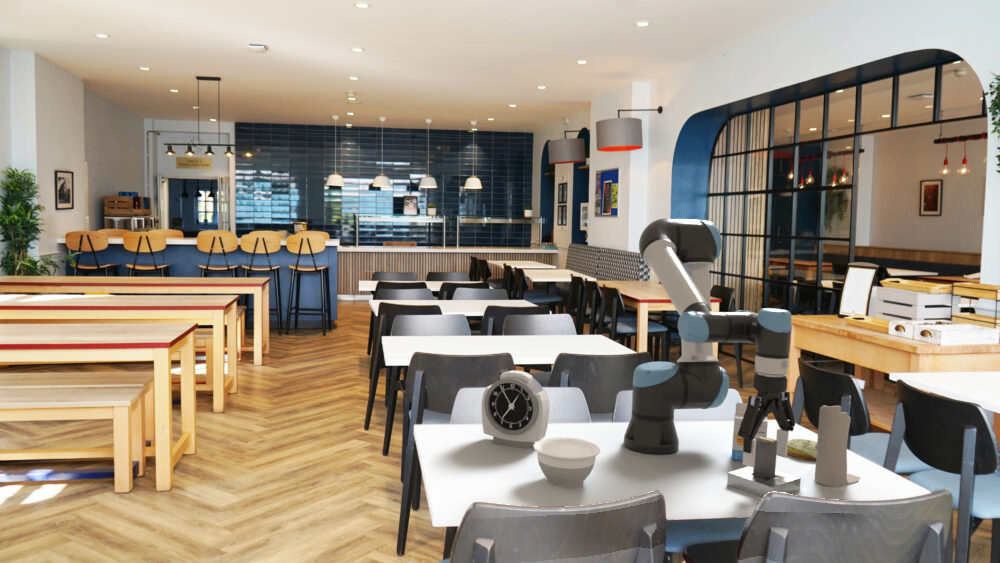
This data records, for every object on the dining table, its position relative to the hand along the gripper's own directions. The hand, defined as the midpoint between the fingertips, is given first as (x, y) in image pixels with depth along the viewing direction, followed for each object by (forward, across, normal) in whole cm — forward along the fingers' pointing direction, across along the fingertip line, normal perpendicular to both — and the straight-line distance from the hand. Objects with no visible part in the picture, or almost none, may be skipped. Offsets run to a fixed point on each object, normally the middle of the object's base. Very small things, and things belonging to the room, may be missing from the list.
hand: (765, 460), depth 183 cm
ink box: (+7, +16, +15) cm, 23 cm away
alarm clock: (+7, -30, +59) cm, 66 cm away
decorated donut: (+7, +34, +8) cm, 35 cm away
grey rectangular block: (+6, 0, 0) cm, 6 cm away
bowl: (+7, -38, +29) cm, 48 cm away
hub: (+7, 0, 0) cm, 7 cm away
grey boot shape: (+7, +22, -7) cm, 24 cm away
